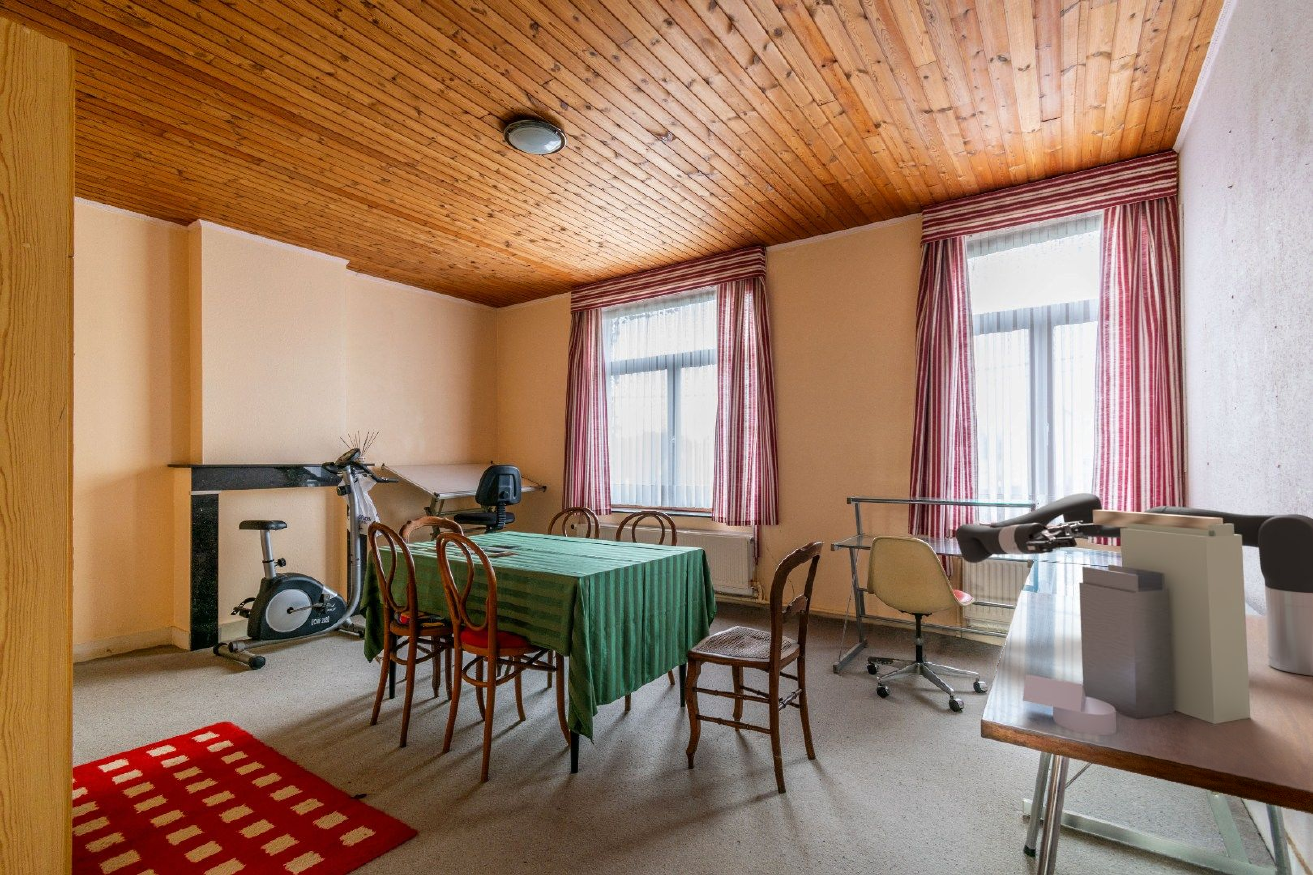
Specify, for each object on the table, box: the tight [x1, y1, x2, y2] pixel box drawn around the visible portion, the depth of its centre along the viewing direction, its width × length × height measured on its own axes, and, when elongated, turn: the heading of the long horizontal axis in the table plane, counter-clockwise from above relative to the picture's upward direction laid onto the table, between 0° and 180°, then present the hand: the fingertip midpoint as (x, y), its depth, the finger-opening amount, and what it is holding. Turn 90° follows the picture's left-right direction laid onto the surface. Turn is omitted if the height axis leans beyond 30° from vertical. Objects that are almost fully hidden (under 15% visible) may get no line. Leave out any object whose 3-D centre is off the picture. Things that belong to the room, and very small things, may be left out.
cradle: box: [1078, 564, 1175, 720], centre depth 117 cm, size 10×9×25 cm
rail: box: [1093, 509, 1223, 530], centre depth 122 cm, size 22×3×3 cm, turn 17°
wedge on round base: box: [1022, 674, 1117, 736], centre depth 110 cm, size 9×7×13 cm
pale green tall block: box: [1120, 523, 1251, 725], centre depth 117 cm, size 15×9×34 cm, turn 17°
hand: (1085, 534), depth 143 cm, fingers open, 8 cm apart
